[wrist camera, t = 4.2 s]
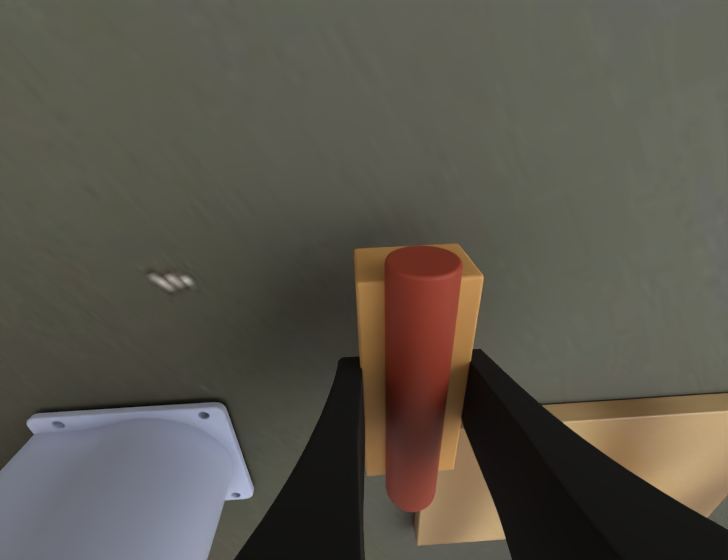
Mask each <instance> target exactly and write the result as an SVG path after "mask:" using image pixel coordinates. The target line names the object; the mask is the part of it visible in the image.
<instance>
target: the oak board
mask: <svg viewBox="0 0 728 560" xmlns="http://www.w3.org/2000/svg"><path fill="white" fill-rule="evenodd" d="M542 406H543V407H544V408H546V409H547V410H548V411H549V412H550V413H552V414H553V415H554V416H555V417H557V418H558V419H559V420H560V421H561V422H563V423H564V424H565V425H566V426H568V427H569V428H570V429H572V430H573V431H574V432H575V433H577V434H578V435H579V436H581V437H582V438H583V439H585V440H586V441H588V442H589V443H590V444H592V445H593V446H595V447H596V448H597V449H599V450H600V451H602V452H603V453H604V454H606V455H607V456H608V457H610V458H611V459H613V460H614V461H616V462H617V463H619V464H620V465H622V466H623V467H625V468H626V469H628V470H629V471H631V472H632V473H634V474H635V475H637V476H639V477H640V478H642V479H643V480H645V481H646V482H648V483H650V484H651V485H653V486H654V487H656V488H657V489H659V490H661V491H662V492H664V493H665V494H667V495H669V496H670V497H672V498H674V499H675V500H677V501H679V502H680V503H682V504H684V505H685V506H687V507H689V508H691V509H692V510H694V511H696V512H698V513H699V514H701V515H703V516H705V517H706V518H707V517H708V516H709V515H710V514H711V513H712V512H713V510H714V509H715V508H716V507H717V506H718V505H719V504H720V503H721V501H722V500H723V499H724V498H725V497H726V496H727V495H728V393H718V394H703V395H687V396H672V397H656V398H641V399H626V400H610V401H595V402H579V403H564V404H548V405H542ZM414 531H415V537H416V544H417V545H418V546H419V545H432V544H446V543H459V542H472V541H486V540H499V539H506V538H505V535H504V531H503V528H502V525H501V522H500V518H499V516H498V513H497V510H496V507H495V505H494V502H493V499H492V497H491V494H490V492H489V489H488V487H487V484H486V482H485V479H484V477H483V474H482V472H481V469H480V467H479V465H478V462H477V460H476V457H475V455H474V452H473V450H472V447H471V445H470V442H469V440H468V437H467V435H466V432H465V429H464V427H463V423H462V420H461V425H460V432H459V438H458V444H457V451H456V457H455V463H454V469H452V470H441V471H438V476H437V484H436V492H435V497H434V499H433V501H432V503H431V504H430V505H429V506H428V507H427V508H425V509H424V510H421V511H418V512H415V519H414Z"/></svg>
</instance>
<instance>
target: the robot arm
mask: <svg viewBox="0 0 728 560" xmlns="http://www.w3.org/2000/svg"><path fill="white" fill-rule="evenodd" d="M461 420H462V423H463V427H464V429H465V432H466V435H467V437H468V440H469V442H470V445H471V447H472V450H473V452H474V455H475V457H476V460H477V462H478V465H479V467H480V469H481V472H482V474H483V477H484V479H485V482H486V484H487V487H488V489H489V492H490V494H491V497H492V499H493V502H494V505H495V507H496V510H497V513H498V516H499V518H500V522H501V525H502V528H503V531H504V535H505V538H506V541H507V544H508V547H509V551H510V554H511V557H512V560H728V530H727V529H726V528H724V527H722V526H720V525H719V524H717V523H715V522H713V521H712V520H710V519H708V518H706V517H705V516H703V515H701V514H699V513H698V512H696V511H694V510H692V509H691V508H689V507H687V506H685V505H684V504H682V503H680V502H679V501H677V500H675V499H674V498H672V497H670V496H669V495H667V494H665V493H664V492H662V491H661V490H659V489H657V488H656V487H654V486H653V485H651V484H650V483H648V482H646V481H645V480H643V479H642V478H640V477H639V476H637V475H635V474H634V473H632V472H631V471H629V470H628V469H626V468H625V467H623V466H622V465H620V464H619V463H617V462H616V461H614V460H613V459H611V458H610V457H608V456H607V455H606V454H604V453H603V452H602V451H600V450H599V449H597V448H596V447H595V446H593V445H592V444H590V443H589V442H588V441H586V440H585V439H583V438H582V437H581V436H579V435H578V434H577V433H575V432H574V431H573V430H572V429H570V428H569V427H568V426H566V425H565V424H564V423H563V422H561V421H560V420H559V419H558V418H557V417H555V416H554V415H553V414H552V413H550V412H549V411H548V410H547V409H546V408H544V407H543V406H542V405H541V404H540V403H538V402H537V401H536V400H535V399H534V398H533V397H532V396H531V395H529V394H528V393H527V392H526V391H525V390H524V389H523V388H522V387H520V386H519V385H518V384H517V383H516V382H515V381H514V380H513V379H512V378H511V377H510V376H509V375H507V374H506V373H505V372H504V371H503V370H502V369H501V368H500V367H499V366H498V365H497V364H496V363H495V362H494V361H493V360H492V359H491V358H489V357H488V356H487V355H486V354H485V353H484V352H483V351H482V350H481V349H473V350H472V356H471V361H470V366H469V372H468V378H467V385H466V391H465V397H464V404H463V410H462V416H461ZM26 424H27V426H28V428H29V429H30V430H31V431H32V433H33V434H34V435H33V436H32V437H31V438H30V439H29V440H28V442H27V443H26V444H25V445H24V446H23V447H22V448H21V449H20V450H19V451H18V452H17V453H16V454H15V456H14V457H13V458H12V459H11V460H10V461H9V462H8V463H7V464H6V465H5V466H4V467H3V468H2V470H1V471H0V560H207V558H208V555H209V552H210V548H211V545H212V542H213V538H214V535H215V532H216V528H217V525H218V522H219V518H220V515H221V512H222V508H223V505H224V502H225V500H236V499H247V498H250V497H251V496H252V495H253V491H254V487H253V484H252V481H251V478H250V475H249V472H248V469H247V467H246V464H245V461H244V458H243V455H242V452H241V449H240V446H239V443H238V440H237V438H236V435H235V432H234V429H233V426H232V423H231V420H230V417H229V414H228V412H227V409H226V407H225V406H224V405H223V404H222V403H219V402H208V403H192V404H176V405H160V406H144V407H128V408H112V409H97V410H81V411H65V412H49V413H37V414H34V415H32V416H31V417H30V418H29V419H28V420H27V423H26ZM364 467H365V415H364V396H363V376H362V368H361V367H360V356H359V357H343V358H341V359H340V360H339V361H338V367H337V371H336V375H335V379H334V382H333V385H332V388H331V391H330V393H329V396H328V399H327V401H326V404H325V406H324V409H323V411H322V414H321V416H320V418H319V420H318V422H317V425H316V427H315V429H314V431H313V433H312V435H311V437H310V439H309V441H308V443H307V445H306V447H305V449H304V451H303V453H302V455H301V457H300V459H299V460H298V462H297V464H296V466H295V468H294V469H293V471H292V473H291V475H290V476H289V478H288V480H287V481H286V483H285V485H284V486H283V488H282V489H281V491H280V493H279V494H278V496H277V498H276V499H275V501H274V502H273V504H272V505H271V507H270V509H269V510H268V512H267V513H266V515H265V516H264V518H263V519H262V521H261V522H260V523H259V525H258V526H257V528H256V529H255V530H254V532H253V533H252V535H251V536H250V538H249V539H248V540H247V542H246V543H245V545H244V546H243V547H242V549H241V550H240V552H239V553H238V555H237V556H236V557H235V559H234V560H365V554H364V532H363V501H364Z"/></svg>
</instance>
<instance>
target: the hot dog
mask: <svg viewBox="0 0 728 560" xmlns="http://www.w3.org/2000/svg"><path fill="white" fill-rule="evenodd" d="M354 266H355V285H356V303H357V321H358V339H359V356H360V367H361V368H362V376H363V396H364V415H365V464H366V474H367V475H368V476H373V475H386V490H387V493H388V495H389V497H390V499H391V500H392V502H393V503H394V504H395V505H396V506H397V507H399V508H400V509H402V510H405V511H408V512H418V511H421V510H424V509H425V508H427V507H428V506H429V505H430V504H431V503H432V501H433V499H434V497H435V492H436V484H437V476H438V471H441V470H452V469H454V463H455V457H456V451H457V444H458V438H459V432H460V425H461V416H462V410H463V404H464V397H465V391H466V385H467V378H468V372H469V366H470V361H471V356H472V350H473V343H474V337H475V331H476V325H477V318H478V312H479V306H480V299H481V293H482V287H483V280H484V276H483V274H482V273H481V272H480V271H479V269H478V268H477V267H476V266H475V264H474V263H473V262H472V260H471V259H470V258H469V257H468V255H467V254H466V253H465V252H464V250H463V249H462V248H461V247H460V245H459V244H457V243H455V244H436V245H417V246H398V247H380V248H361V249H355V250H354Z"/></svg>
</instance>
